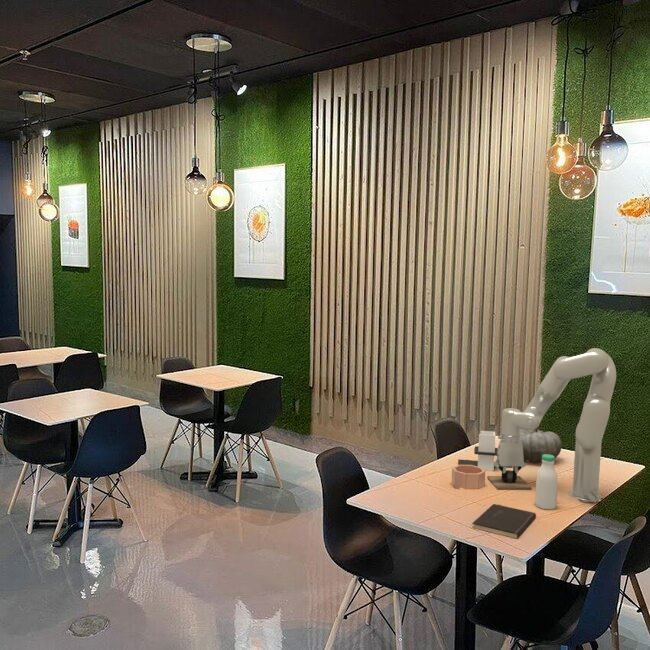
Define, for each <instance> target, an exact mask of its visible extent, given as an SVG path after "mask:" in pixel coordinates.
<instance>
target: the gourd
mask: <svg viewBox="0 0 650 650" xmlns="http://www.w3.org/2000/svg"><path fill="white" fill-rule="evenodd" d="M539 429H540V426H538V427H537V428H536V429H534V430H526V429H522V428H521V430H520V441H521V442H522V445H523V457H524V461H527V462H529V463H532V464H539V463H542V455H544V454H549V455H553V456H554V457H555V459H556V458H557V457H558V456H559V455H560V454H561V452H562V451H561V450H562V444H563V443H562V440H561V438H560V436H559V435H558V434H557V433H555V432H553V431H543V430H539Z"/></svg>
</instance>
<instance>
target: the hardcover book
mask: <svg viewBox="0 0 650 650" xmlns="http://www.w3.org/2000/svg"><path fill="white" fill-rule="evenodd" d="M536 518H537V514H536V512H533V511H527V510H525V509H518V508H514V507H509V506H505V505H500V504H496V503H493V504H492V505H490V506H489V507H488V508H487V509H486V510H485V511H483V513H481V515H479V516H478V517H477V518H476V519H475V520H474V521H473V522H471V524H472V527H473V529H476V530H481V531H485V532H488V533H493V534H497V535H501V536H505V537H510V538H513V539H519V538H520V537H521V536H522V534H523V533H524V532H525V531H526V530H527V528H529V526H530V525H531V524H532V523H533V522H534V520H535V519H536Z"/></svg>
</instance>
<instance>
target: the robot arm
mask: <svg viewBox="0 0 650 650" xmlns="http://www.w3.org/2000/svg"><path fill="white" fill-rule="evenodd" d="M591 375H592V378H591V382H590V386H589V390H588V393H587V397H586V399H585V400H584V403H583V408H582V411H581V415H580V417H579V421H578V423H577V426H576V428H575V435H574V436H575V447H574V459H573V460H574V461H573V477H572V478H573V481H572V489H570V490H569V491H568V492H567V493H568V495H569V496H570V497H572V498H574V499H576V500H578V501H579V502H582V503H590V502H594V503H596V502H595V501H599V500H601V498H602V499H603V496H602V495H601V494H600V493H599V488H600V487H599V485H600V469H601V455H602V442H603V439H604V438H603V437H604V434H605V431H606V428H607V424H608V421H609V418H610V412H611V400H612V397H613V395H614V390H615V389H614V388H615V385H616V381H617V369H616V365H615V363H614V361H613V359H612V357H611V356H610V355H609V354H608V353H606V352H605V351H604V350H603V349H601V348H598V347H596V348H595V347H593V348H590V349H588V350H587V351H586V352H585V353H581V354H578V355H575V356H566V355H564V356H563V355H562V356H559V357H558V358H557V359H556V360H555V361H554V363H553V364H552V366H551V368H550V369H549V371H548V372H547V373H546V374H545V377H544V378H543V379H542V381H541V383H540V384H539V386H538V388H537V390H536V392H535V394H534V395H533V398H532V399H531V401H530V402H529V403H528V405H527V407H526V408H525V409H524V411H521V410H520V409H518V408H513V407H512V408H511V407H509V408H504V409H503V410H502V413H501V434H500V435H497V439H498V440H499V443H498V447H497V448H498V452H497V456H496V459H495V460H494V462H495V463H494V466H495V467H497V468H496V469H498V470H500V471H501V476H502V480H503V481H504V482H505V483H506V482H507V473H506V470H507V468H506V467H512V471H513V482H514V483H515V482H516V480H517V476H518V473H519V471H521V469H523V468H525V467H526V466H527V465H526V463H525V460H524V457H523V445H522V442H521V441H520V430H521V429H523V430H534V429H536V428H537V427H538V426H539V425H540V423H541V421H542V420H543V418H544V416H545V414H547V411H548V410H549V409H550V407H551V406H552V404H553V403H554V402H555V401H556V400H558V399H559V397H560V396H561V394H562V393H563V391H564V389H565V388H566V386H567V385H568V383H569V382H570V381H571V380H574V379H578V378H582V377H588V376H591ZM539 427H540V426H539ZM498 464H500V465H501V466H500V465H498ZM601 501H602V500H601Z"/></svg>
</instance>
